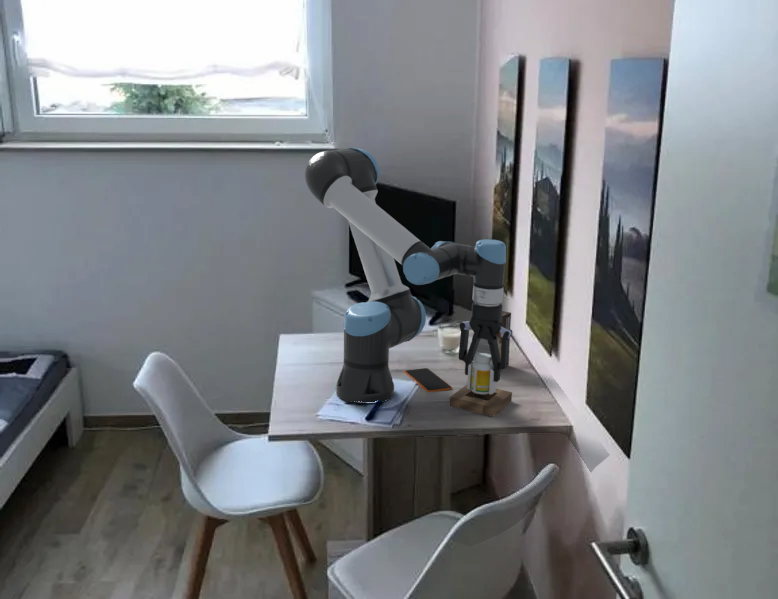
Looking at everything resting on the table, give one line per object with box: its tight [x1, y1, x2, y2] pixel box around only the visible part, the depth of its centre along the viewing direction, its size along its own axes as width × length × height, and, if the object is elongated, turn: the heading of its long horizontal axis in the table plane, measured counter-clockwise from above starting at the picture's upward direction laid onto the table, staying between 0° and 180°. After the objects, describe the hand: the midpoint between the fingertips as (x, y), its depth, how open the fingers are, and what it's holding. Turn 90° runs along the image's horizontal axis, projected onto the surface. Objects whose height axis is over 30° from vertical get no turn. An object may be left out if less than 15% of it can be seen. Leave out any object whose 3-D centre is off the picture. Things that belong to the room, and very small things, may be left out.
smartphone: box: [403, 367, 453, 393], centre depth 232 cm, size 8×17×1 cm, turn 22°
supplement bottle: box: [471, 353, 493, 394], centre depth 214 cm, size 5×5×10 cm
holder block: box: [448, 384, 513, 417], centre depth 216 cm, size 12×12×2 cm
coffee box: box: [473, 310, 512, 364], centre depth 241 cm, size 9×6×16 cm
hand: (481, 389), depth 216 cm, fingers closed on supplement bottle, 5 cm apart
